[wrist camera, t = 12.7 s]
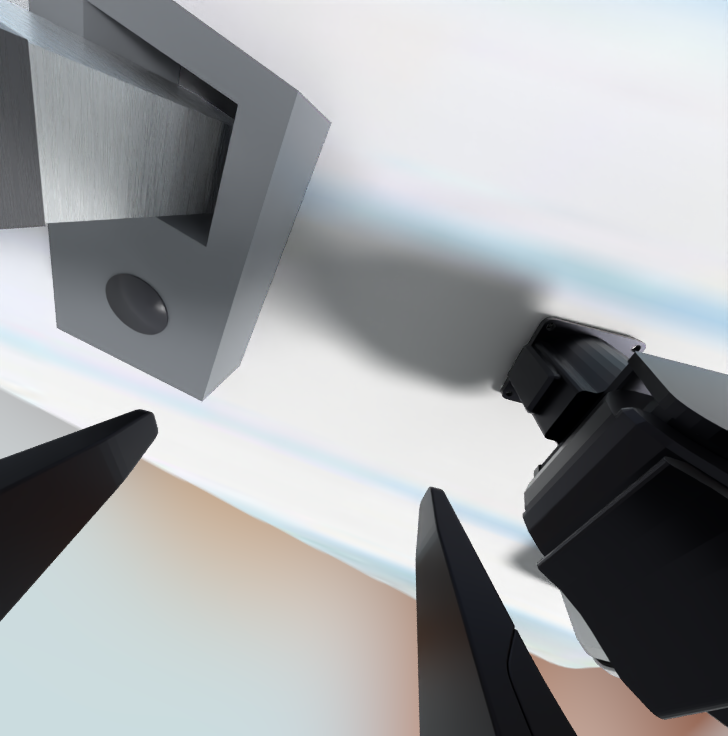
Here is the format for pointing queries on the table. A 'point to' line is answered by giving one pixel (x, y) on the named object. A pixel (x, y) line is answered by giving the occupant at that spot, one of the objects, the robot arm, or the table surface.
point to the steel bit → (97, 132)
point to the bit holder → (193, 231)
